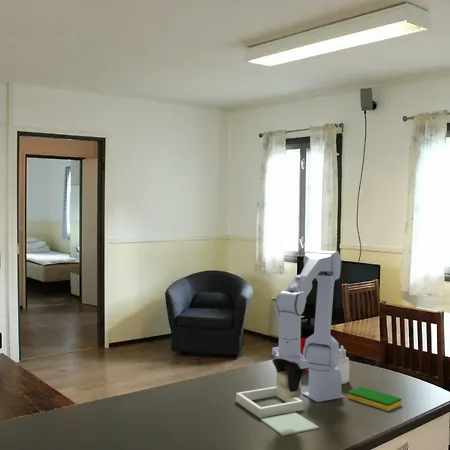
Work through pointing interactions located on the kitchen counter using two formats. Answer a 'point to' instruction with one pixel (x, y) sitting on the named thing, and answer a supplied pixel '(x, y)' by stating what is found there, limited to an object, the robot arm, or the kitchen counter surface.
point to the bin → (266, 411)
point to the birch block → (286, 387)
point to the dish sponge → (374, 398)
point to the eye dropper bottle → (343, 365)
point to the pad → (289, 424)
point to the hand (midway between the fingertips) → (288, 388)
